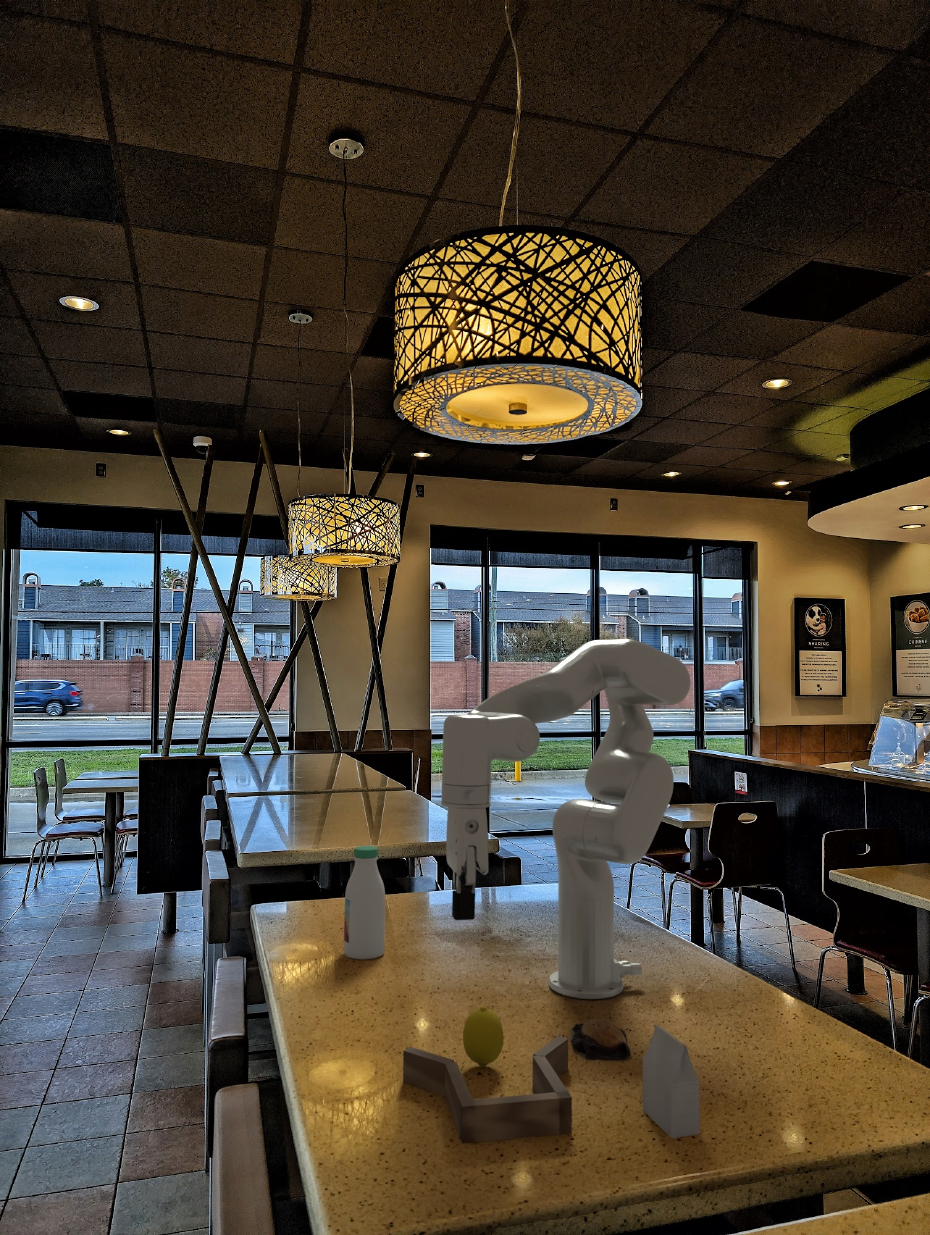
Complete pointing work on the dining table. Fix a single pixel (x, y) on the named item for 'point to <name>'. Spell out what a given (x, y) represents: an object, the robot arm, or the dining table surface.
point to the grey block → (670, 1086)
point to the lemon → (483, 1036)
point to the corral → (498, 1114)
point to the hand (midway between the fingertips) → (463, 918)
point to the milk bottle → (364, 907)
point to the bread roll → (600, 1041)
